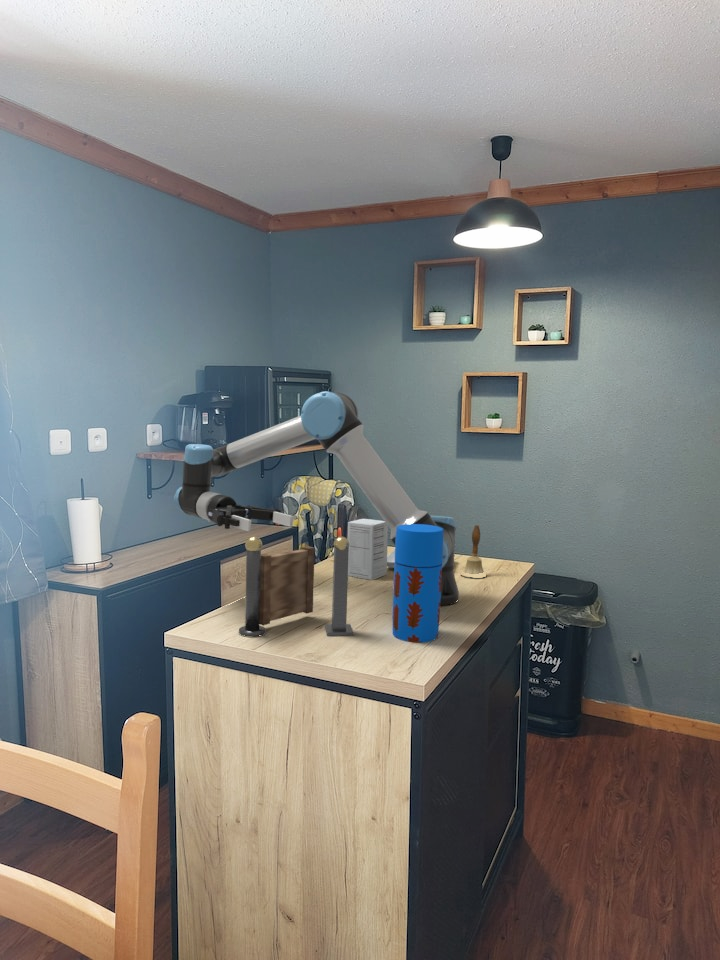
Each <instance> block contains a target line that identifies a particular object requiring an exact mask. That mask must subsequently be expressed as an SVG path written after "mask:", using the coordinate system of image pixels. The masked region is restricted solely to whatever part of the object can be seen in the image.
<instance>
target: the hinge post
mask: <svg viewBox="0 0 720 960" xmlns="http://www.w3.org/2000/svg"><path fill="white" fill-rule="evenodd" d="M244 546H245V550H246V553H245V554H246V555H245V556H246V559H245V560H246V561H245V563H246V564H245V566H246V567H245V614H244V618H245V619H244V620H245V622H244V625H243V626H241V627H239V628H238V634H239V633H240V634H241V635H240V634H239V635H240V636H242V635H245V636H258V637H260V636H259V635H262V636H264V635H265V634H266V633H265V632H266V631H267V630H266V627H264V626H263V625H261V624H260V571H261V554H262V548H263V542H262V540H261V538H259V536H254V535H253V536H250V537H248V538H247V540H245V544H244ZM264 633H265V634H264ZM263 634H264V635H263ZM245 636H244V637H245Z"/></svg>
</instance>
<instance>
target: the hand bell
mask: <svg viewBox="0 0 720 960" xmlns="http://www.w3.org/2000/svg"><path fill="white" fill-rule="evenodd" d="M480 540H481V530H480V525H477V524H475V525H474V528H473V530H472V533H471V541H472V552H471V556H469V557H467V559H466V564H465V567H464V569H462V571H463V572H465V573H469V574H479V573H483V572H485V571H484V567H483V561H482V558H480V557H479V556H478V552H479V549H478V548H479V544H480Z"/></svg>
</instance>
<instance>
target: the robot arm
mask: <svg viewBox="0 0 720 960" xmlns="http://www.w3.org/2000/svg"><path fill="white" fill-rule="evenodd" d="M300 412H301V413H300V415H298V416H296V417H293V418H291V419H288V420H286V421H283V422H280V423H278V424H275V425H273V426H271V427H269V428H265V429H263V430H260V431H258V432H256V433H253V434H250V435H248V436H245V437H242V438H241V439H237V440H235V441H233V442H231V443H228V444H225V445H222V446H220V447H217V448H215V449H214V448H213V447H212V446H211V445H209V444H201V443H190V444H187V445H185V447H184V448H185V449H184V455H183V468H182V470H183V472H182V484H181V486H180V487H178V489H176V491H175V493H174V496H173V504H174V507H175V508H176V509H177V510H178V511H180V512H181V513H183V514H185V515H188V516H193V517H197V518H200V519H203V520H206V521H207V523H212V522H213V523H215V525H216V526H218V527H221V526H224V529H226V530H228V529H230V527H232V528H236V529H238V530H243V531H245V532H251V530H252V520H260V521H261V520H262V521H268V522H269V521H271V522H272V523H275V524H279V525H282V526H285V527H290V528H292V527H293V522H294V521H293V520H294V516H293V515H290V514H286V513H284V512H282V510H280V509H279V508H275V509H273V508H272V509H271V508H266V507H265V508H264V507H259V506H253V505H249V504H248V505H246V506H245V505H242V504H237V502H236V500H235V499H234V498H233V497H231V496H228V495H224V494H221V493H218V492H213V491H211V487H212V486H211V485H212V478H214V477H216V476H224V475H227V474H230V473H231V472H232V471H233V472H234V471H235V470H237V469H239V468H240V469H241V468H243V467H245V466H248V465H250V464H253V463H255V462H259V461H261V460H263V459H266V458H269V457H272V456H274V455H276V454H279V453H282V452H284V451H287V450H290V449H293V448H295V447H297V446H300V445H303V444H305V443H308V442H310V441H313V440H318V442H319V444H320V445H321V446H322V448H323V449H324V450H325V452H326V453H327V454H334V455H336V457H337V458H338V460H339V461H340V463H341V464H343V466H344V467H345V469H346V470H347V471H348V472H347V473H349V475H350V476H351V477H352V479H354V481H355V482H356V484H357V485H358V487H359V488H360V489H361V491H362V493H364V495H365V496H366V497H367V499H368V500H369V501H370V503H371V504H372V506H373V507H374V509H375V510H376V511H377V513H378V514H379V515H380V517H381V518H382V519H383V521H385V522H386V523H387V525H388V529H389V530H390V536H389V537H390V538H389V539H390V540H391V542H392V543H393V545H395V539H396V530H397V526H399V525H405V524H424V525H433V526H438V527H441V528H442V529H443V536H444V538H443V559H442V580H441V601H440V607H442V606H441V605H443V606H448V605H447V604H450V605H452V604H451V603H454V602H456V601H457V600H458V599H459V597H460V592H459V587H458V585H457V581H456V577H455V572H454V566H455V563H454V562H455V556H454V555H455V548H456V547H455V544H456V543H455V542H456V531H457V525H456V524H457V523H456V519H455V518H454V517H452V516H443V515H431V514H429V513H428V511H426V510H421V509H419V508H418V507H417V506H416V505H415V504H414V502H413V501H412V500H411V498H410V496H408V494H407V493H406V490H404V488H403V487H402V485H400V483H399V482H398V481H397V479H396V478H395V477H394V475H393V473H391V471H390V469H389V468H388V467H387V465H386V464H385V462H383V460H382V459H381V457H380V456H379V455H378V453H377V452H376V451H375V449H374V448H373V446H372V445H371V444H370V443H369V441H368V440H367V438H366V437H365V436H364V424H363V423H362V422H361V420H360V418H359V412H358V407H357V405H356V403H355V401H354V400H353V399H352V398H351V397H350V396H348V395H346V394H345V393H340V392H331V391H321V392H318V393H315V394H313V395H311V396H310V397H308V398H307V400H305V402H304V404H303V406H302V407H301V411H300ZM458 601H459V600H458ZM456 603H457V602H456ZM454 604H455V603H454Z"/></svg>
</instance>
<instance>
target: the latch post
mask: <svg viewBox="0 0 720 960" xmlns="http://www.w3.org/2000/svg"><path fill="white" fill-rule="evenodd" d="M348 556H349V541H348V537H345V536H338V537H336V538H335V540H333V572H332V573H333V575H332V579H333V580H332V603H331V604H332V606H331V607H332V608H331V609H332V610H331V623H329V624H328V623H327V624H326V623H325V624H324V630H325V634H326V636H327V637H343V636H346V637H347V636H349V637H350V636H351V637H352V636H354V630H353V627H352V626H351V623H347V615H348V614H347V611H348V586H349V585H348V583H349V581H348V580H349V576H348Z"/></svg>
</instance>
